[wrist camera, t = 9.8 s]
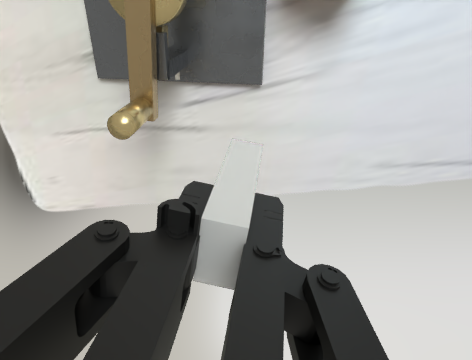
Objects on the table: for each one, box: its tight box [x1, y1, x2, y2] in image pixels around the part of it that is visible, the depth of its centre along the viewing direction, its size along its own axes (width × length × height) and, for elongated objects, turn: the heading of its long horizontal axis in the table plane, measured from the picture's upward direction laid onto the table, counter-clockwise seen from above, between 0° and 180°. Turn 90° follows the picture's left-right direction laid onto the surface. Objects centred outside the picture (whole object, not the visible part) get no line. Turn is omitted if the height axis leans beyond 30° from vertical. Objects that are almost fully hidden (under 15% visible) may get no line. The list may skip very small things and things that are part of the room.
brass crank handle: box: [107, 0, 187, 140], centre depth 31 cm, size 19×8×11 cm, turn 175°
